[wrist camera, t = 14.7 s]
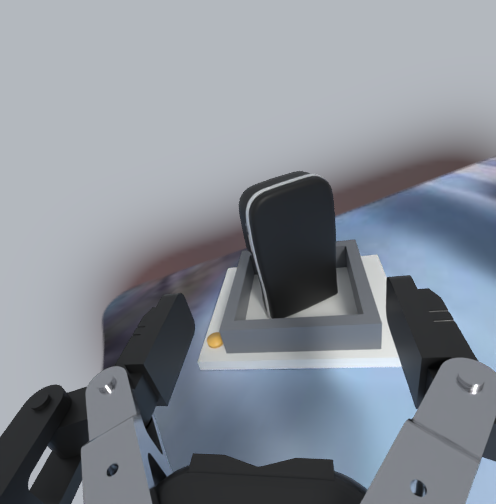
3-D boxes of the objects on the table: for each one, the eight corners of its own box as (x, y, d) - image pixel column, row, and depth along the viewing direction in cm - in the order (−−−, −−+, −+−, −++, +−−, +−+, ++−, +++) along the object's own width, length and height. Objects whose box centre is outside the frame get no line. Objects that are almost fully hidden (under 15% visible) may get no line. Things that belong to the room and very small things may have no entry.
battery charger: (318, 275, 31) (307, 161, 25) (342, 295, 28) (335, 170, 22) (254, 302, 29) (227, 186, 24) (272, 326, 26) (245, 200, 20)
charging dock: (377, 262, 32) (377, 233, 31) (418, 366, 21) (422, 330, 20) (230, 275, 36) (223, 249, 34) (200, 370, 25) (188, 339, 23)
